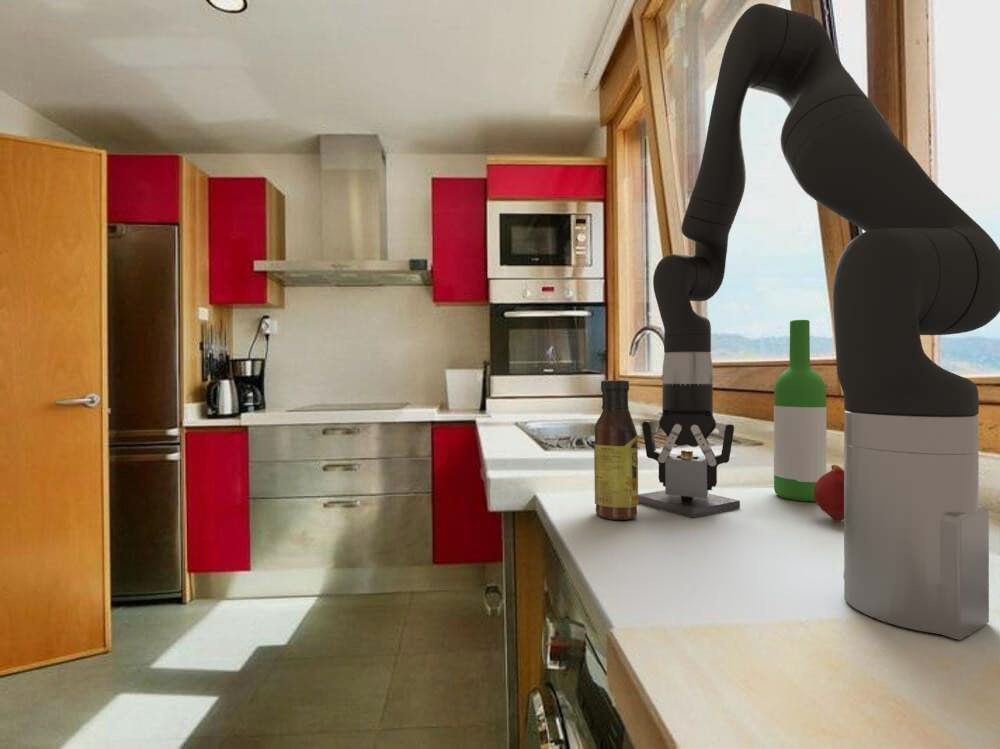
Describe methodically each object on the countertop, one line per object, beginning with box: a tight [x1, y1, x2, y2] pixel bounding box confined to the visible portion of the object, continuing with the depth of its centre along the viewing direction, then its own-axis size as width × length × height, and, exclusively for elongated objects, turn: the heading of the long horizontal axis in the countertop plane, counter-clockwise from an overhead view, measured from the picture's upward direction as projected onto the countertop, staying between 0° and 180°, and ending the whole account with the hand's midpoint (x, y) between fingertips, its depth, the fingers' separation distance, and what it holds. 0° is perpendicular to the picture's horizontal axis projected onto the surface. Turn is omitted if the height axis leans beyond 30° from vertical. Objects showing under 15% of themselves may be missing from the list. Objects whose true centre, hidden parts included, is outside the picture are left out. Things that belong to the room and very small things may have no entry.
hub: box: [638, 449, 741, 519], centre depth 83 cm, size 11×11×9 cm
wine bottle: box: [773, 319, 827, 502], centre depth 88 cm, size 8×8×30 cm
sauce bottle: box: [593, 379, 639, 521], centre depth 76 cm, size 7×6×20 cm
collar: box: [664, 453, 710, 498], centre depth 83 cm, size 6×6×6 cm
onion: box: [813, 464, 844, 523], centre depth 74 cm, size 6×6×8 cm
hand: (687, 487), depth 83 cm, fingers closed on collar, 6 cm apart
